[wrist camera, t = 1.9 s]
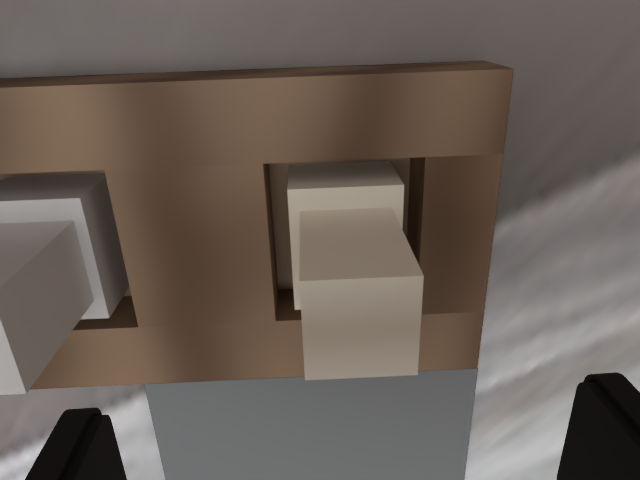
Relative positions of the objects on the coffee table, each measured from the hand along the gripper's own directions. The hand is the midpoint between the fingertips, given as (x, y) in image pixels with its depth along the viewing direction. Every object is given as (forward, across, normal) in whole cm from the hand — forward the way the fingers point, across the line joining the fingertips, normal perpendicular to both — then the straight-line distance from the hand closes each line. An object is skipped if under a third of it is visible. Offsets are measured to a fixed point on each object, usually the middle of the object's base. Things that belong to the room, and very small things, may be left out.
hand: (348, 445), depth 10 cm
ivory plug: (+12, -1, 0) cm, 12 cm away
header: (+12, +4, 0) cm, 13 cm away
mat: (+12, 0, +13) cm, 18 cm away
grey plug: (+12, +10, 0) cm, 16 cm away
